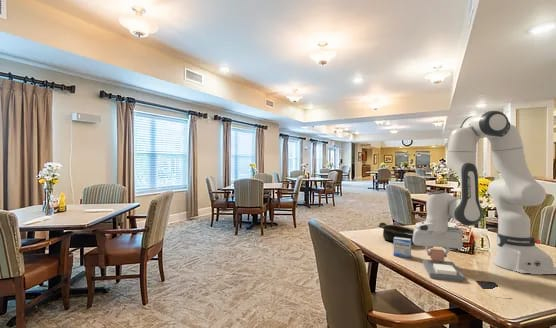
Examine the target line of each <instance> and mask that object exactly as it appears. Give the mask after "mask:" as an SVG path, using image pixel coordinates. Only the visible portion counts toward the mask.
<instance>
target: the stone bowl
mask: <svg viewBox="0 0 556 328" xmlns="http://www.w3.org/2000/svg"><path fill="white" fill-rule="evenodd" d="M377 227H379V228H381V229H383V231H382V237H383V240H384V241H385V240H386V241H391V242H394V237H400V238H408V239H411V244H414V243H413V232H414V230H415V229H416V228H412V227H408V226H403V225H399V224H398V225H397V224H386V223H385V222H380V223H379V225H377Z"/></svg>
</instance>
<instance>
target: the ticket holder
mask: <svg viewBox="0 0 556 328" xmlns="http://www.w3.org/2000/svg"><path fill="white" fill-rule="evenodd" d="M422 264H423V266H424V268H425V271H426V272H427V275H428V276H429V278H430V279H437V280H445V281H454V282H461V281H462V282H465V275H464V274H463V273H462V272H461V270H460V269H459V268H458V266H456V264H455V263H454V262H453V261H448V260H444V261H439V260H432V259H425V258H422Z"/></svg>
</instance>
